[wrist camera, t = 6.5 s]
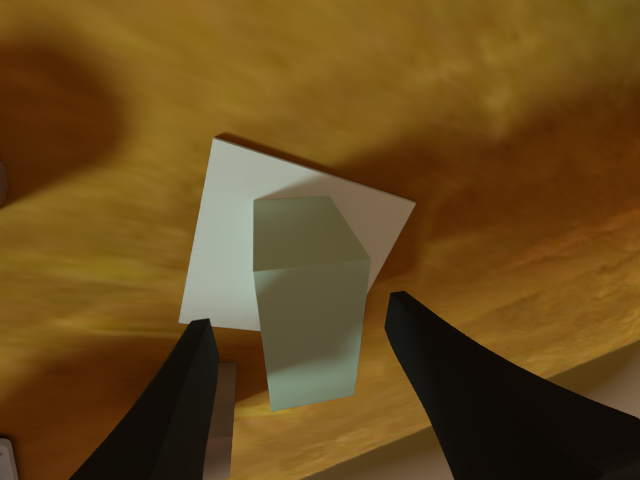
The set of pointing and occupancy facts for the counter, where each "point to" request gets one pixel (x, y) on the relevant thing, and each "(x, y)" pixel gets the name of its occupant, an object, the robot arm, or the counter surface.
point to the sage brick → (308, 298)
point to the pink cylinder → (3, 183)
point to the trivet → (237, 227)
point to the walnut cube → (221, 425)
